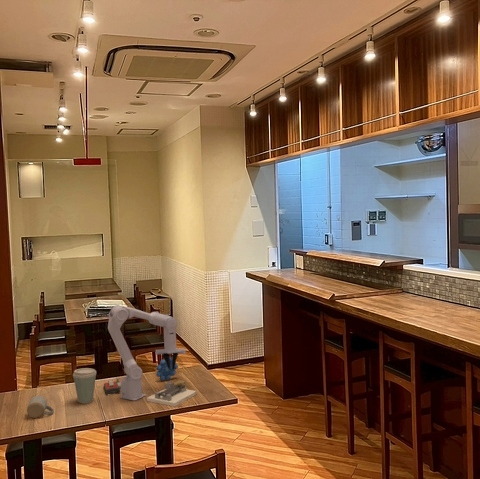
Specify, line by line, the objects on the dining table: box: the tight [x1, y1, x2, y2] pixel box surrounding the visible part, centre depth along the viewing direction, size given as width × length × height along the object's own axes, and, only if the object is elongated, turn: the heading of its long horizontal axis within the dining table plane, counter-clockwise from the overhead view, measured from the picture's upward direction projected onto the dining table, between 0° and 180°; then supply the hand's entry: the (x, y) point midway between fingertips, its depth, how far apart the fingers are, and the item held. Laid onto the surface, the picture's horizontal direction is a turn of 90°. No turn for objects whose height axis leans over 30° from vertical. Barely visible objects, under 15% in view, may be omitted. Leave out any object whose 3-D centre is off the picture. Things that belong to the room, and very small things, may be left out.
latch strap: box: [159, 384, 186, 397], centre depth 240 cm, size 15×4×1 cm, turn 150°
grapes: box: [155, 356, 179, 381], centre depth 266 cm, size 12×7×12 cm, turn 114°
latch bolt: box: [174, 380, 187, 386], centre depth 244 cm, size 4×3×1 cm
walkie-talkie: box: [103, 378, 122, 396], centre depth 256 cm, size 9×4×20 cm
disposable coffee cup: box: [72, 367, 97, 405], centre depth 239 cm, size 11×11×15 cm
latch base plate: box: [146, 381, 198, 407], centre depth 240 cm, size 16×17×4 cm
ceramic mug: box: [26, 395, 55, 419], centre depth 224 cm, size 11×8×8 cm
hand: (171, 368), depth 251 cm, fingers closed
